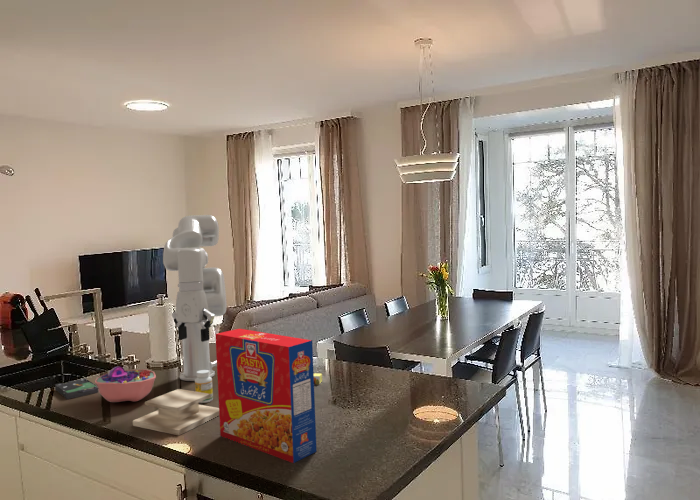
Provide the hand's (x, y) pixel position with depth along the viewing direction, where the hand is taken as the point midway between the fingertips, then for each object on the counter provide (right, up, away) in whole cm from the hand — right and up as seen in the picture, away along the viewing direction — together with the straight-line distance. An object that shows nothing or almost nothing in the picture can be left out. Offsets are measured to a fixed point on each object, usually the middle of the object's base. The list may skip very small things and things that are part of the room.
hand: (194, 339), depth 178 cm
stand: (0, -21, -15) cm, 26 cm away
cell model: (-23, -21, +3) cm, 31 cm away
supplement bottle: (+3, -20, +1) cm, 20 cm away
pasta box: (+29, -21, -35) cm, 50 cm away
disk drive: (-46, -21, +16) cm, 53 cm away
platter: (+30, -19, +16) cm, 39 cm away
